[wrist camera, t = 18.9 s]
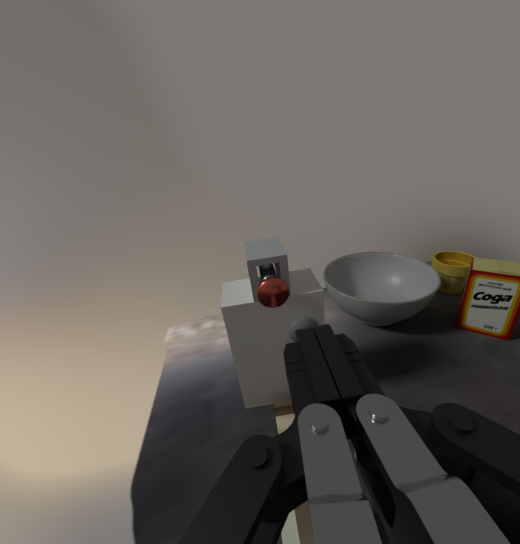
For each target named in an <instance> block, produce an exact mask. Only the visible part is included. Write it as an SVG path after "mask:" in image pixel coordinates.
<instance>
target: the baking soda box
mask: <svg viewBox="0 0 520 544" xmlns="http://www.w3.org/2000/svg"><path fill="white" fill-rule="evenodd" d="M519 314H520V263H519V262H510V261H503V260H492V259H484V258H475V257H472V260H471V264H470V268H469V272H468V276H467V280H466V284H465V288H464V292H463V296H462V300H461V304H460V308H459V312H458V317H457V323H456V328H460V329H464V330H468V331H472V332H476V333H480V334H484V335H488V336H492V337H496V338H500V339H504V340H508V341H509V340H510V337H511V335H512V332H513V330H514V327H515V324H516V322H517V319H518V316H519Z"/></svg>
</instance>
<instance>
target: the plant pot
mask: <svg viewBox="0 0 520 544" xmlns="http://www.w3.org/2000/svg"><path fill="white" fill-rule="evenodd" d="M472 257H475V256H473V255H471V254H468V253H464V252H459V251H441V252H437V253H435V254H434V256H433V259H432V265H431V266H432V267H433V268H434V269H435V270H436V271H437V272H438V274H439V276H440V278H441V286H440V288H439V291H441V292H444V293H448V294H456V293H460V292H461V291H462V289H463V288H464V286H465V284H466V280H467V276H468V272H469V268H470V264H471V260H472ZM475 258H476V257H475Z"/></svg>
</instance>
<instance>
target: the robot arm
mask: <svg viewBox="0 0 520 544" xmlns="http://www.w3.org/2000/svg"><path fill="white" fill-rule="evenodd" d="M295 337H296V342H293V343H287V344H286V345H285V349H284V352H283V356H284V362H285V369H286V376H287V381H288V386H289V391H290V396H291V400H292V405H293V410H294V414H295V417H294V420H293V422H292V424H291V425H290V426H289V428H287V429H286V430H285V431H284V432H282V433H280V434H279V435H277V436H275V437H273V438H271V437H269V436H266V435H255V436H252V437H250V438H248V439H247V440H245V441H244V442H243V443H242V445H241V446H240V447H239V449H238V451H237V452H236V454H235V455H234V457H233V458H232V460H231V461H230V463H229V465H228V466H227V468H226V469H225V471H224V472H223V474H222V475H221V477H220V479H219V480H218V482H217V483H216V485H215V486H214V488H213V489H212V491H211V493H210V494H209V496H208V497H207V499H206V500H205V502H204V503H203V505H202V507H201V508H200V510H199V511H198V513H197V514H196V516H195V517H194V519H193V521H192V522H191V524H190V525H189V527H188V528H187V530H186V531H185V533H184V535H183V536H182V538H181V539H180V541H179V542H178V544H277V541H278V539H279V537H280V534H281V532H282V530H283V527H284V525H285V522H286V520H287V518H288V515H289V513H290V512H291V511H293V510H294V509H296V508H297V507H299V506H300V505H301V504H303V503H304V502H306V501H307V500H308V504H309V511H310V518H311V525H312V533H313V540H314V544H382V542H381V539H380V535H379V532H378V529H377V525H376V522H375V519H374V516H373V512H372V510H371V507H370V504H369V502H368V500H367V498H366V496H364V494H363V492H362V490H361V487H360V483H359V480H358V476H357V473H356V470H355V466H354V463H353V459H352V456H351V452H350V449H349V446H348V442H347V439H351V442H352V444H353V447H354V450H355V462H356V464H357V467H358V469H359V471H360V473H361V476H362V478H363V480H364V482H365V485H366V487H367V489H368V491H369V494H370V496H371V498H372V501H373V503H374V505H375V507H376V510H377V512H378V514H379V516H380V519H381V521H382V523H383V525H384V528H385V530H386V533H387V536H388V540H389V544H520V435H519V434H517V433H515V432H513V431H511V430H509V429H507V428H506V427H504V426H502V425H500V424H498V423H496V422H494V421H492V420H490V419H488V418H486V417H484V416H482V415H480V414H478V413H476V412H474V411H472V410H470V409H468V408H466V407H463V406H461V405H458V404H453V403H443V404H440V405H438V406H436V407H435V409H434V410H433V412H425V411H418V410H411V409H406V408H403V407H401V406H398V405H397V404H396V403H395V402H394V401H392V400H391V399H389V398H388V397H386V396H385V395H384V394H383V392H382V391H381V389H380V387H379V385H378V384H377V382H376V380H375V378H374V377H373V375H372V373H371V372H370V370H369V368H368V366H367V365H366V363H365V361H363V358H362V356H361V354H360V353H359V351H358V349H357V347H356V346H355V344H354V342H353V341H352V340H351V339H349V338H348V337H347V336H346V335H344V334H339V335H334V333H333V331H332V329H331V327H330V325H329V324H326V325H320V326H314V327H309V328H303V329H297V330H295Z"/></svg>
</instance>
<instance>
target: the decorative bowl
mask: <svg viewBox="0 0 520 544" xmlns="http://www.w3.org/2000/svg"><path fill="white" fill-rule="evenodd" d="M323 278H324V282H325V285H326V287H327V290H328V292H329V293H330V295H331V297H332V298H333V300H334V301H335V302H336V303H337V305H338V306H339V307H340V308H342V309H343V310H344V311H345V312H346V313H348V314H349V315H351V316H353V317H355V318H356V319H357V320H359V321H360V322H362V323H365V324H368V325H373V326H386V325H391V324H393V323H395V322H400V321H403V320H406V319H408V318H410V317H412V316H414V315H416V314H417V313H419V312H420V311H421V310H422V309H424V308H425V307H426V306H427V305H428V304H429V303H430V302H431V301H432V299H433V298H434V297H435V295H436V294H437V292H438V290H439V288H440V286H441V278H440V276H439V274H438V272H437V271H436V270H435V269H434V268H433V267H431V266H430V265H428V264H427V263H425V262H422V261H421V260H418V259H415V258H413V257H409V256H406V255H401V254H396V253H388V252H362V253H355V254H350V255H346V256H343V257H340V258H338V259H336V260H334V261H332V262H331V263H329V264H328V265H327V266H326V268H325V269H324V272H323Z"/></svg>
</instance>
